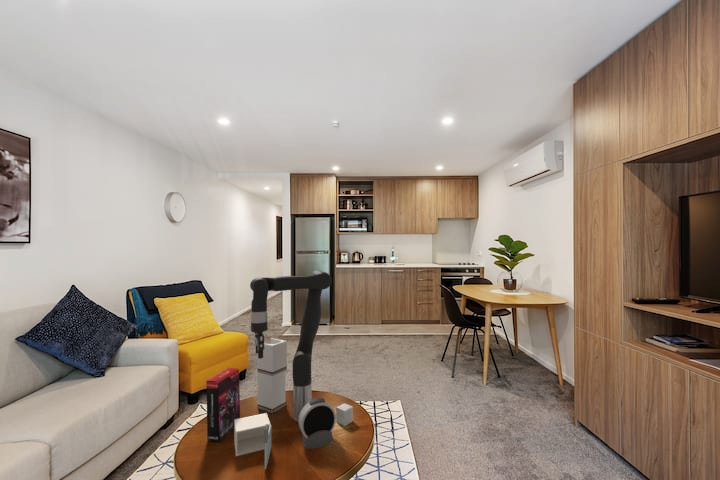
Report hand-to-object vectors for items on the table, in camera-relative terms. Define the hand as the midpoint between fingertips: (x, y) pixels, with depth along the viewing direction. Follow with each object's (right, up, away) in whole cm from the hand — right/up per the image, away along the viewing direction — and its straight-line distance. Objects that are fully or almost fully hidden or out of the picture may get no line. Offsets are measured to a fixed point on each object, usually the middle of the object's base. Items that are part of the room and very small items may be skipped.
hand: (259, 355), depth 154 cm
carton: (0, -36, -10) cm, 37 cm away
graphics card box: (-17, -36, 0) cm, 40 cm away
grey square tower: (-1, -37, +26) cm, 45 cm away
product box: (+40, -36, +9) cm, 54 cm away
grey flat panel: (+10, -35, -20) cm, 41 cm away
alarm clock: (+28, -36, -7) cm, 46 cm away
